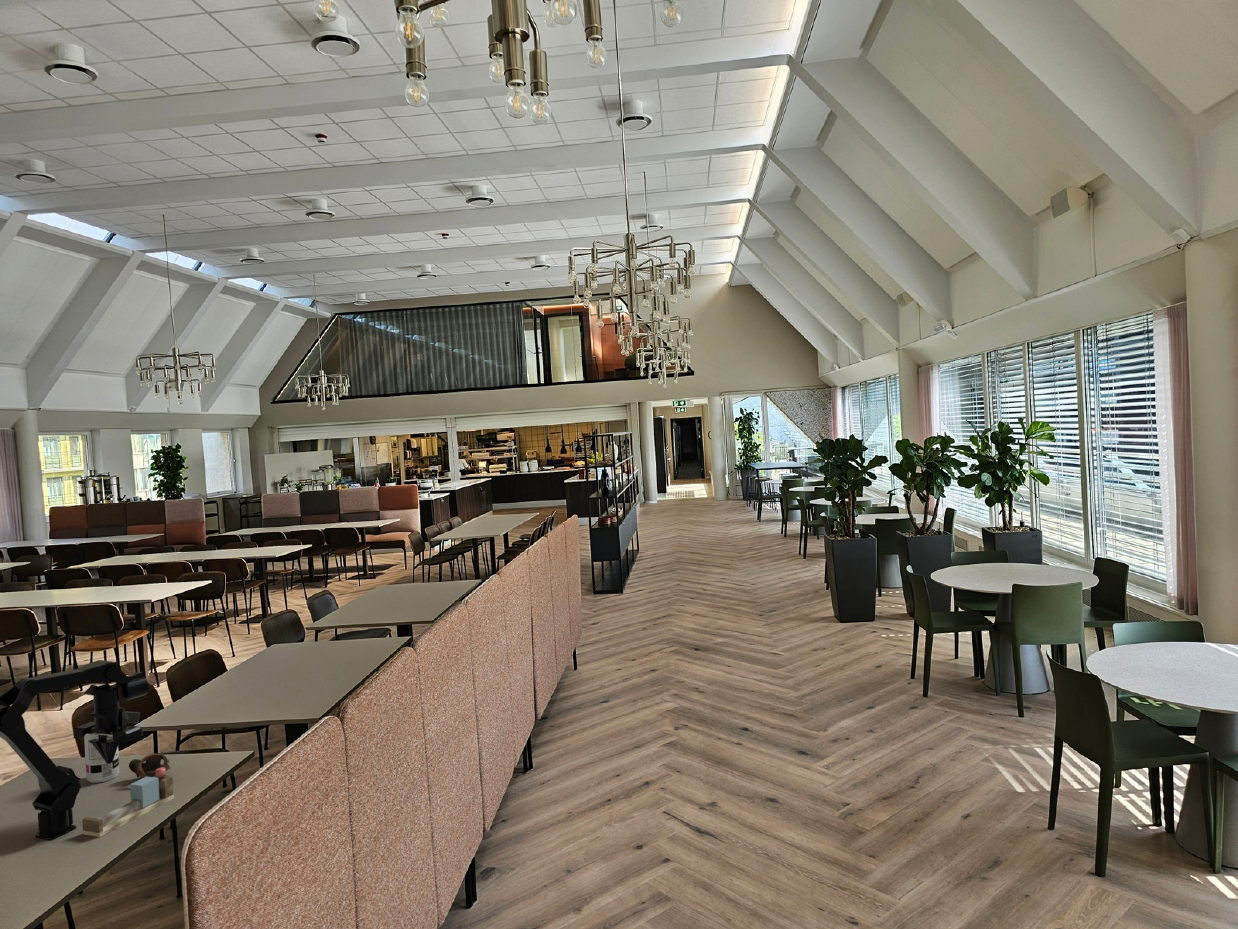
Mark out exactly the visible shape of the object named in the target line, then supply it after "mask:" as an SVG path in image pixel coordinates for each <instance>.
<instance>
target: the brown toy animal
mask: <svg viewBox="0 0 1238 929" xmlns="http://www.w3.org/2000/svg"><path fill="white" fill-rule="evenodd" d="M162 760H163V764H162ZM169 763H170V760H169V759H168V758H167V756H166V755H164V754H162V753H152V754H151V753H150V754H148V755H146V756H144V757H143V758H141V759H138V758H136V759H135V758H134V759H132V760H131V761H130V762H129V763H128V768H129V770H130V771H131V772H133V773H134V774H135V776H136V777H137V778H139V777H140V779H142V778H145V777H154V776H156V772H155V770H156V769H158V768H161V767H165V770H166V772H167V771H168V770H170V769H171V767H170V765H169Z"/></svg>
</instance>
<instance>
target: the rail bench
mask: <svg viewBox="0 0 1238 929" xmlns="http://www.w3.org/2000/svg"><path fill="white" fill-rule="evenodd" d="M154 777H155V778H156V776H154ZM158 782H159V800H157V801H155V802H153V803H152V804H150V805H148V806H146V807H144V808H142V807H141V800H134V801H132V802H131V801H130V802H128V803H126V804H124V805H122V806H120V807H118V808H116V809H114V810H112V811H110V812H108V813H105V814H104V815H102V816H99V817H98V818H96V817H95V818H94V817H89V816H88V817H84V818H82V819H81V820H82V835H85V836H92V837H97V838H102V837H103V836H105V835H107V834H109V833H110V832H113V831H114V830H116V829H119V828H120V827H122V826H124V825H126V824H128V823H130V822H131V821H133V820H135V819H137V818H139V817H141V816H143V815H144V814H147V813H149V812H151V811H152V810H155V809H157V808H158V807H160V806H162V805H164V804H166V803H167V802H169V801H171V800H173V799H175V795H174V779H173V776H169V775H168V774H166V776H164V777H162V778H158Z"/></svg>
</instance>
